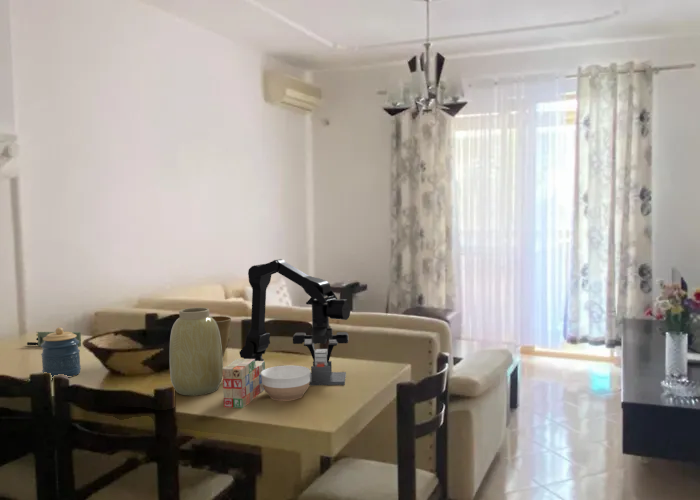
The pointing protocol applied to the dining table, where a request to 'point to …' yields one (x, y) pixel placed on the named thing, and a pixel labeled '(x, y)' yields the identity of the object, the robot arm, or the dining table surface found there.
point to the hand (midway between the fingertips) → (321, 362)
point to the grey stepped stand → (326, 375)
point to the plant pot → (223, 330)
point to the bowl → (286, 382)
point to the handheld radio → (44, 334)
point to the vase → (195, 353)
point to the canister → (61, 353)
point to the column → (321, 357)
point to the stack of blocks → (242, 382)
